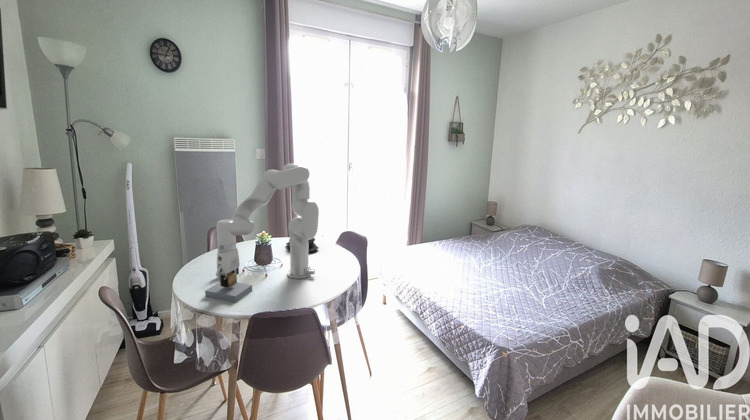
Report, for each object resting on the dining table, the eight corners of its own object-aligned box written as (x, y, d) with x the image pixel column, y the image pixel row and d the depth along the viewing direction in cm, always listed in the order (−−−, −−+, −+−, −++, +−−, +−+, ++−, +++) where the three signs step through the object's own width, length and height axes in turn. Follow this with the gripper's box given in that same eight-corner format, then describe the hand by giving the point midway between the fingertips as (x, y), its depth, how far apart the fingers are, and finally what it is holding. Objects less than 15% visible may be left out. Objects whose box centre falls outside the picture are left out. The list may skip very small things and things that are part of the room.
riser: (252, 290, 154) (252, 284, 154) (235, 302, 143) (235, 296, 142) (223, 285, 158) (223, 280, 157) (205, 296, 147) (205, 290, 146)
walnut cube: (236, 283, 151) (236, 273, 150) (229, 287, 147) (229, 277, 145) (227, 281, 152) (227, 271, 151) (220, 286, 148) (219, 275, 147)
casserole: (325, 250, 216) (325, 238, 214) (302, 256, 202) (302, 243, 200) (301, 241, 231) (301, 230, 230) (279, 247, 217) (279, 235, 216)
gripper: (220, 253, 137) (223, 293, 140) (246, 242, 153) (247, 278, 157) (205, 251, 138) (208, 290, 142) (232, 240, 155) (233, 275, 158)
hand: (228, 283), depth 149 cm, fingers closed on walnut cube, 5 cm apart
